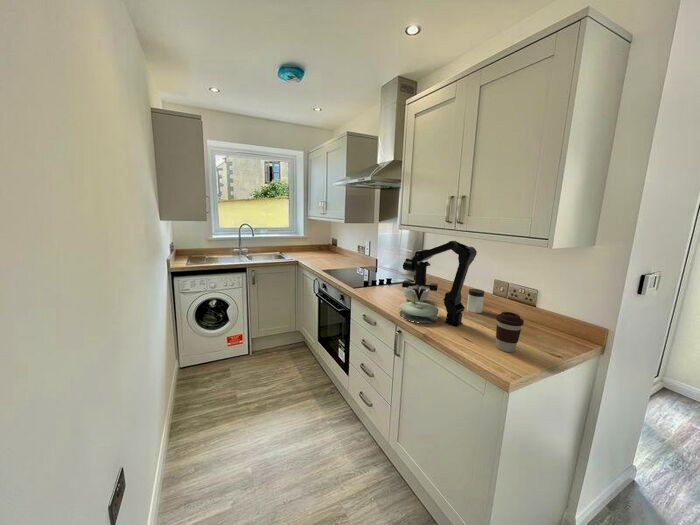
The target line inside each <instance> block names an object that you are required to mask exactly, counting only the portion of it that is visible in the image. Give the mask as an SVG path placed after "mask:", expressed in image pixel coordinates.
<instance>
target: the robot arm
mask: <svg viewBox="0 0 700 525" xmlns="http://www.w3.org/2000/svg"><path fill="white" fill-rule="evenodd" d="M450 250H452V252H453V253H454V254H456V255H458V257H457V259H458V260H457V261H458V265H457V266H458V267H457V269H456V272H455V275H454V280H453V283H452V286H451V289H450V291H447V292H445V294H444V297H443V305H444V306H445V310H446V319H445V321H444V323H445V324H448V325H451V326H454V327H459V326H462V325H463V324H464V323H463V322H462V320H463V312H464V311H465V309H466V307H465V306H464V304H463V303H462V290H463V286H464V282H465V280H466V278H467V277H466V276H467V273H468V270H469V267H470V266H471V264H472V263H473V261H474V260H475V259H476V256H477V254H478V252H477V250H476V248H475V247H473V246H468V245H466V244H463V243H461V242H459V241H457V240H449V241H448V242H446V243H442V244H440V245H437V246H434V247H431V248H428V249H427V248H426V249H422V250H421V249H420V250H416V251H415V253H414V255H413V257H412V258H405V259H404V262H403V264H402V269H403V270H404V271H409V272H415V273H414V275H413V280H414V282H412V281H411V280H404V281H403V282H402V284H401V287H402V288H404V287H405V288H408V287H409V286H413V290H415V293H416V295H417V298H418V301H419V300H420V298H421V295H422V293H423V291H426V289H428V290H429V291H431V292H437V291H438V290H439V284H438V283H432V282H431V283H430V284H427V268H428V267H429V266H431V263H429V261H428V260H429V259H431V258H433V257H434V256H435V255H440V254H443V253H445V252H448V251H450ZM419 287H421V289H420V293H419Z"/></svg>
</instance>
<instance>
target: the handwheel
mask: <svg viewBox="0 0 700 525" xmlns="http://www.w3.org/2000/svg"><path fill="white" fill-rule="evenodd" d="M415 300H416V295H415V294H412V295H411V301H405V302H402V303H401V304H399V307H400V308H399V309H400V311H401V310H402V311H403V312H405V313H408V314H411V315H415V316H424V317H428V316H435V315H437V316H438V314H439V308H438V307H436V306H435V305H432V304H430V303H425V302H415Z"/></svg>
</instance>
